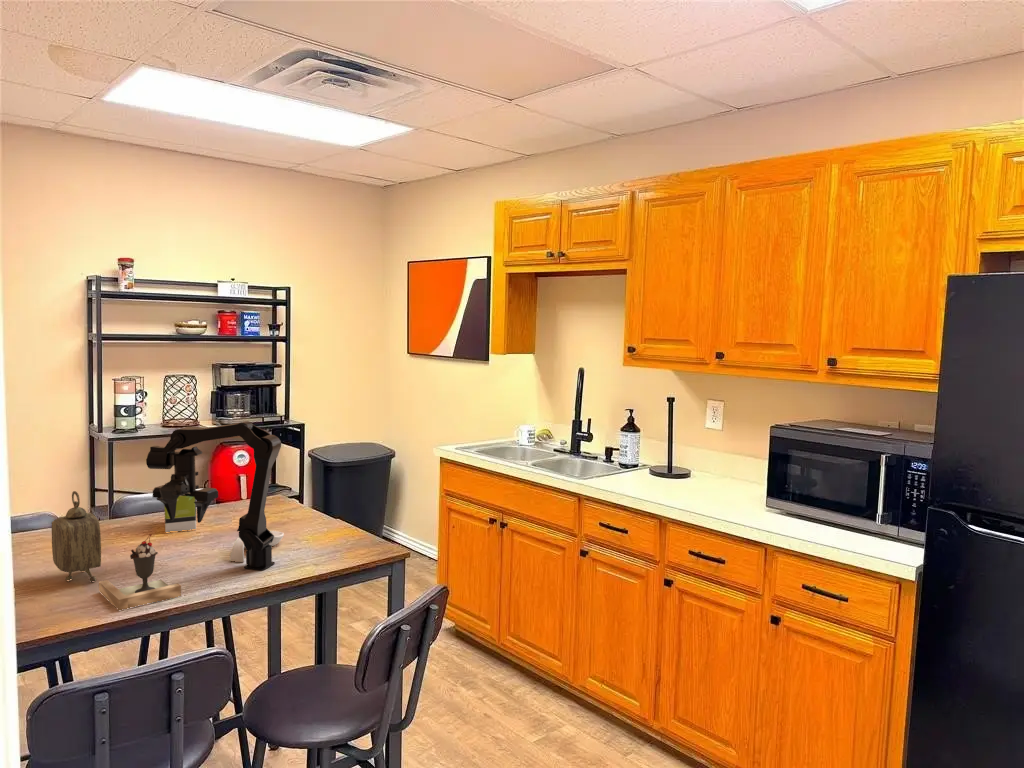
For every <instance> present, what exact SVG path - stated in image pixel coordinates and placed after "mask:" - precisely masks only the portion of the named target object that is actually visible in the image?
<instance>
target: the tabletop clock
mask: <svg viewBox="0 0 1024 768" xmlns="http://www.w3.org/2000/svg"><path fill="white" fill-rule="evenodd" d="M75 496H76V499H77V500H76V501H75ZM71 501H72V504H73V507H72V508H69V509H68V510H67V512H66V514H65V515H64V516H59V517H57V518H56V519H54V520H53V521H51V549H52V550H51V551H52V560H53V563H54V565H55V566H56V567H57V569H58V570H59V571H61V572H66V573H68V575H67V576H66V577H65V581H66V580H70V579H72V580H73V576H72V573H74V572H80V571H85V572H84V573H86V575H88V577H89V582H90V581H91V582H90V583H93V582H92V581H95V582H96V581H97V577H96V576H94V575H92V573H91V571H90V569H91V570H92V569H94V568H99V567H101V564H102V541H101V539H102V538H101V525H100V521H99V519H98V518H97V517H96V516H95V515H94V514H93V513H92V512H87V511H86V509H85V508H83V507H80V503H81V502H80V495H79V493H78V491H75V490H74V491H72V493H71Z"/></svg>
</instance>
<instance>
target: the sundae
mask: <svg viewBox="0 0 1024 768" xmlns="http://www.w3.org/2000/svg"><path fill="white" fill-rule="evenodd" d="M151 536H152V534H150V533H149V534H148V537H147V538H146V539H145V540H144V541H142V542H141V543H140V544H139V545H137V546H136V548H135V550H134V549H131V550H130V551H131V553H130V555H129V557H130V560H133V565H134V570H135V573H136V574H135V575H136V576H137V577H138V578H139V579H141V580H142V584H143V585H142V588H140V589H138V590H136V591H135V593H138V592H143V591H147V590H151V589H155V588H154V587H149V586H148V579H149V578H150V577H151V576H152V575H153V573H154V568H155V562H156V561H155V559H156V555H158V554H159V552H158V551H156V548H155V547H153V543H152V542H151ZM147 540H148V543H147Z"/></svg>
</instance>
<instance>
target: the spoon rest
mask: <svg viewBox="0 0 1024 768" xmlns="http://www.w3.org/2000/svg"><path fill="white" fill-rule="evenodd" d="M269 531H270V532H271V533H272V534H273V535H274V539H273V541H272V542H271V543H270V544H269V545H272V546H273V547H274V546H276V545H277V544H279V543H280V542H281V540H283V538H284V535H285V533H284V532H282V531H275V530H269ZM244 549H245V546H244V543H243V541H242V540H241V539H240V538H239V536H238V537H237V538H236V540H235V541H234V543H233V545H232V548H231V551H230V554H229V562H231V561H235V562H234V563H244V562H245V552H244V551H245V550H244Z"/></svg>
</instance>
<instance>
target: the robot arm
mask: <svg viewBox="0 0 1024 768" xmlns="http://www.w3.org/2000/svg"><path fill="white" fill-rule="evenodd" d="M235 437H241V438H242V440H243V441H244V442H245V443H246V445H248V447H250V448H251V449H252V450H253V460H254V463H255V469H254V470H255V471H254V476H253V482H252V485H251V494H250V498H249V504H248V511H247V512H246V514H243V515H242V516H241V517H239V519H238V520H239V521H238V528H237V530H236V532H238V537H239V538H240V539H241V540H242V541H243V543H244V549H245V550H246V551H245V561H246V562H245V563H246V565H244V567H243V568H244V569H247V570H248V569H249V570H257V571H264V570H266V569H269V568H270V567H271V566H274V565H275V563H276V562H275V561H273V559H272V558H273V557H272V556H273V555H272V552H273V551H272V550H273V549H272V548H273V547H272V545H269V544H270V543H271V542H272V541H273V539H274V535H273V534H272V533H271V532H270V531H271V530H270V529H268V528H267V517H266V513H265V510H266V509H265V508H266V502H267V498H268V491H269V486H270V481H271V475H272V469H273V465H274V463H275V462H276V460H277V458H278V456H279V454H280V450H281V448H282V441H281V439H280V438H279V437H278V436H276V435H275V434H270V433H269V432H268V431H267V430H264V429H263V428H260V427H259V426H257V425H255V424H254V423H252V422H251V421H249V420H247V421H246V420H245V421H242V422H236V423H231V424H230V423H229V424H224V425H216V426H211V427H210V426H209V427H202V426H200V427H199V426H185V427H182V428H178V429H175V430H173V431H172V433H171V434H170V437H169V438H170V439H169V440H168V442H167V443H166V445H165V446H159V445H153V446H150V448H149V452H148V454H147V456H146V459H145V460H146V462H145V463H146V467H147V468H148V469H150V470H171V469H172V468H173V467H174V470H173V471H174V473H171V476H170V480H169V481H168V482H165V483H166V484H165V483H164V484H163V485H159V486H155V487H154V488H153V489H152V498H156V501H159V502H161V503H162V504H163V507H164V506H165V507H166V510H167V512H168V514H169V517H170V519H171V520H174V519H175V514H176V504H177V498H178V497H179V496H191V497H195V499H196V501H195V502H194V503H195V504H196V522H197V523H198V524H200V523H202V521H203V519H204V517H205V515H206V512H207V511H208V510H207V509H208V508H209V506H210V504H211V503H212V502H213V501H215V500H216V499H218V498H219V491H218V490H217V488H214V487H205V488H201V489H200V488H199V487H200V486H199V484H196V481H197V480H196V477H197V476H199V471H196V456H199V455H202V454H203V451H202V450H201V449H199V447H197V446H194V445H197V444H201V443H202V442H207V441H214V440H221V439H227V438H235ZM190 446H194V447H192V448H187V447H190ZM180 449H181V450H180ZM177 450H180V451H177Z"/></svg>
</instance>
